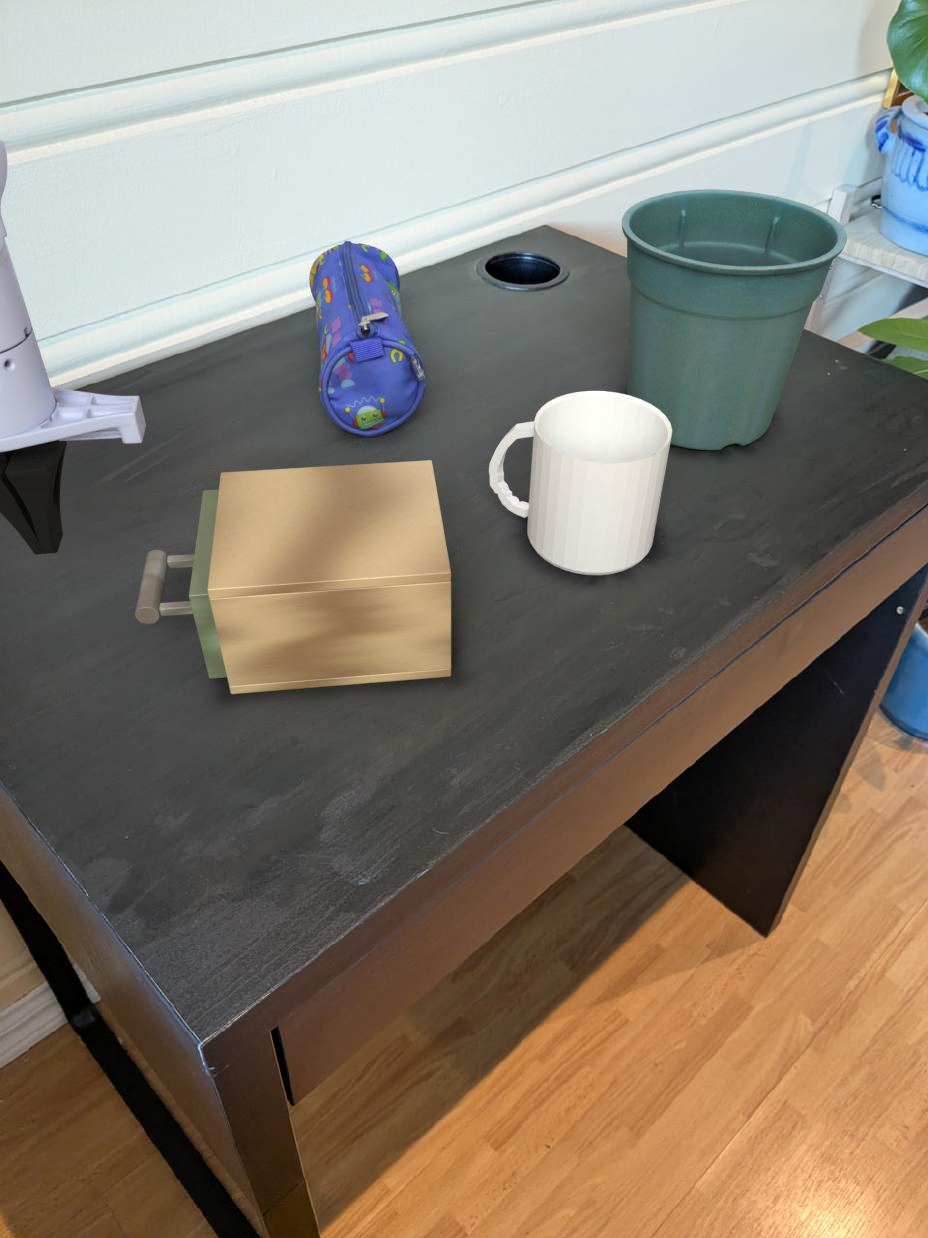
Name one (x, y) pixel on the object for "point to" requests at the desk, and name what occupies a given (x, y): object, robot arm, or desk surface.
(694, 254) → the flower pot
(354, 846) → the desk surface
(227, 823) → the desk surface
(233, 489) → the cabinet
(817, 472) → the desk surface
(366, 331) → the pencil case
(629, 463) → the mug
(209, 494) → the drawer
